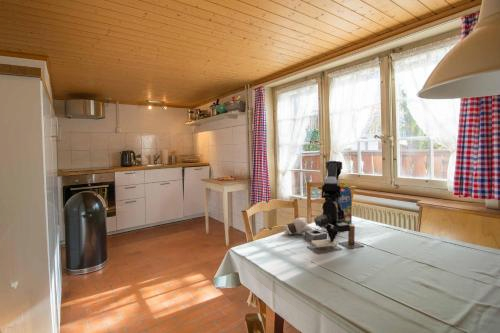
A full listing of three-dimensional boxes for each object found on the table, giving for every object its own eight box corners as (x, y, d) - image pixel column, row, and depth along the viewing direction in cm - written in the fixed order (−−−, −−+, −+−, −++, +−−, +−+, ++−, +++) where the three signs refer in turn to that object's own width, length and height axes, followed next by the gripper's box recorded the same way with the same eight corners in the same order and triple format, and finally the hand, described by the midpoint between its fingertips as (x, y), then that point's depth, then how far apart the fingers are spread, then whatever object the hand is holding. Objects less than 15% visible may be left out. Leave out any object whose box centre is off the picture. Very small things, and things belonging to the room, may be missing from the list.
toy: (288, 246, 136) (315, 238, 137) (286, 233, 132) (313, 225, 133) (281, 230, 148) (306, 223, 149) (279, 218, 144) (304, 210, 145)
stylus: (351, 242, 125) (351, 224, 124) (355, 244, 122) (356, 226, 122) (346, 243, 124) (347, 225, 123) (350, 245, 121) (351, 227, 121)
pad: (351, 241, 128) (351, 240, 128) (364, 246, 121) (364, 245, 121) (338, 243, 126) (338, 242, 126) (350, 249, 118) (350, 248, 118)
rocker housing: (329, 243, 127) (329, 239, 127) (341, 249, 118) (341, 245, 118) (306, 247, 122) (306, 243, 122) (318, 254, 114) (317, 250, 114)
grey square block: (317, 236, 137) (317, 229, 136) (327, 241, 129) (327, 233, 129) (304, 238, 134) (304, 231, 134) (313, 243, 126) (313, 235, 126)
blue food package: (328, 222, 161) (328, 183, 160) (345, 220, 165) (345, 181, 163) (334, 225, 155) (334, 184, 154) (351, 223, 159) (351, 183, 157)
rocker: (328, 241, 125) (328, 238, 125) (337, 245, 119) (337, 242, 119) (311, 242, 121) (311, 240, 121) (318, 247, 116) (318, 244, 116)
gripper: (305, 206, 127) (306, 237, 128) (329, 215, 109) (330, 251, 110) (324, 204, 130) (325, 234, 131) (350, 212, 113) (351, 246, 114)
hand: (332, 241), depth 122 cm, fingers closed, pressing on rocker
